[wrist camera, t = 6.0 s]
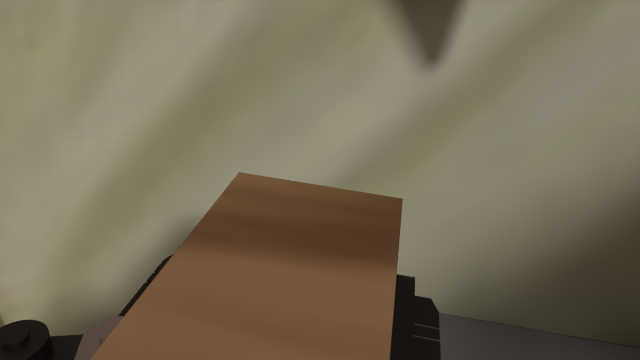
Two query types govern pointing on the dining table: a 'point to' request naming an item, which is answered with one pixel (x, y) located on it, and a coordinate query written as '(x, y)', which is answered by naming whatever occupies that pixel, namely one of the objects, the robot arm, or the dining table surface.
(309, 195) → the walnut block
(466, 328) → the slate base
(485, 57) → the dining table surface
